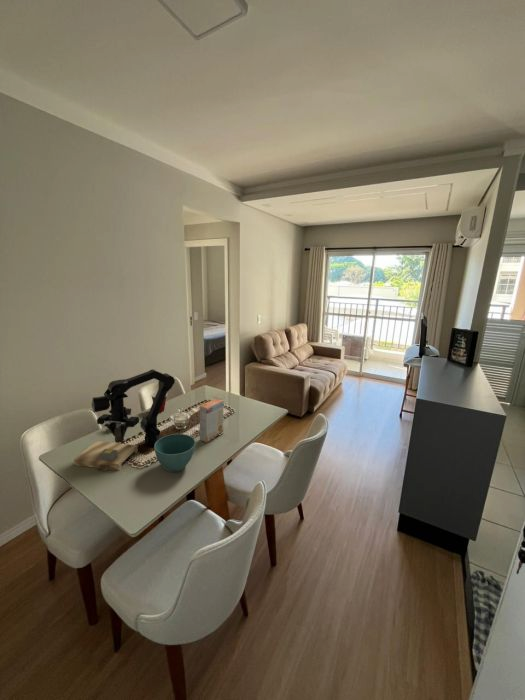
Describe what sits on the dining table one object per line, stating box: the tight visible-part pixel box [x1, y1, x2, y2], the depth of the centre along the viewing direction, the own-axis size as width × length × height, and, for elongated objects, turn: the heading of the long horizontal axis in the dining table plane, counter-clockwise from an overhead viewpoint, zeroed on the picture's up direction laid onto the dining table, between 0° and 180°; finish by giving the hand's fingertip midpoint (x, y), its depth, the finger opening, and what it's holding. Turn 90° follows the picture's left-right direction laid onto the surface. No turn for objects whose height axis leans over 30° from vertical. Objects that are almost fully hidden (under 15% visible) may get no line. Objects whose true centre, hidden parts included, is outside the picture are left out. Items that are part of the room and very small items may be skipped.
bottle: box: [114, 422, 125, 444], centre depth 140 cm, size 4×4×10 cm
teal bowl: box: [153, 433, 196, 473], centre depth 133 cm, size 18×18×12 cm
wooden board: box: [73, 440, 138, 472], centre depth 138 cm, size 22×19×3 cm
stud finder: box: [100, 449, 118, 461], centre depth 133 cm, size 6×4×3 cm, turn 84°
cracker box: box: [198, 398, 224, 444], centre depth 161 cm, size 14×6×21 cm, turn 146°
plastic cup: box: [150, 392, 168, 414], centre depth 192 cm, size 11×11×12 cm
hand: (119, 436), depth 140 cm, fingers closed on bottle, 4 cm apart
